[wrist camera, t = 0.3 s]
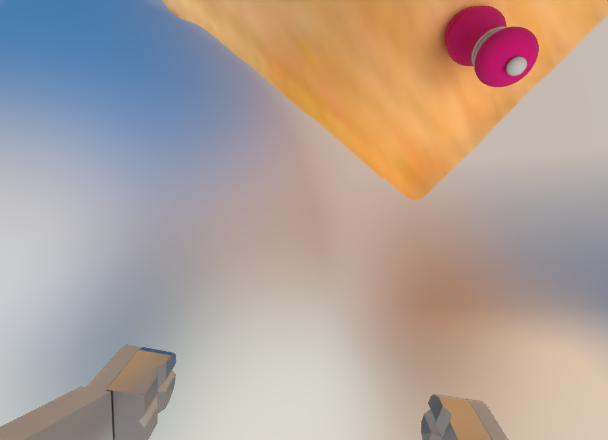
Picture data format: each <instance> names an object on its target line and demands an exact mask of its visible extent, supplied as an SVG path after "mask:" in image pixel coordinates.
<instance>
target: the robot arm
mask: <svg viewBox="0 0 608 440" xmlns="http://www.w3.org/2000/svg"><path fill="white" fill-rule="evenodd" d="M175 364H176V354H175V353H172V352H167V351H161V350H156V349H150V348H145V347H137V346H132V345H125V346H124V347H122V348H121V349H120V350H119V351H118V352H117V353H116V354H115V356H114V357H113V358H112V359H111V360H110V361H109V362H108V363H107V365H106V366H105V367H104V368H103V369H102V370H101V371H100V372H99V373H98V374H97V376H96V377H95V378H94V379H93V380H92V381H91V382H90V384H89V385H88V386H87V387H79V388H77V389H75V390H73V391H71V392H69V393H67V394H65V395H63V396H61V397H59V398H57V399H55V400H53V401H51V402H49V403H47V404H45V405H43V406H41V407H39V408H37V409H35V410H33V411H31V412H29V413H27V414H25V415H23V416H21V417H19V418H17V419H15V420H13V421H11V422H9V423H7V424H5V425H3V426H1V427H0V440H148V439H149V437H150V435H151V433H152V431H153V430H154V428H155V426H156V424H157V415H158V413H159V412H160V411H162V410H163V409H165V408H166V406H167V404H168V402H169V400H170V397H171V394H172V392H173V389H174V384H175V373H174V372H173V370H172V369H173V367H174V365H175ZM428 404H429V406H430V410H429V411H428V412H426V413H425V414H424V416H423V419H422V422H421V423H422V424H421V433H422V439H423V440H508V439H507V437H506V435H505V434H504V432H503V431H502V429H501V427H500V426H499V424H498V423H497V421H496V419H495V418H494V416H493V415H492V413H491V412H490V410H489V409H488V407H487V405H486V404H485V403H484V402H482V401H478V400H471V399H463V398H457V397H451V396H443V395H437V394H433V395H432V396H431V397H430V400H429V402H428Z"/></svg>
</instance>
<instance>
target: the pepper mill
mask: <svg viewBox="0 0 608 440" xmlns="http://www.w3.org/2000/svg"><path fill="white" fill-rule="evenodd" d="M445 43H446V46H447V49H448V52H449V55H450V57H451V58H452V59H453V60H454V61H455V62H457V63H458V64H460V65H464V66H474V67H475V72H476V75H477V77H478V78H479V80H480V81H481V82H482V83H484V84H486V85H488V86H492V87H504V86H508V85H511V84H513V83H516V82H517V81H519V80H520V79H522V78H523V77H524V76H525V75H526V74H527V73H528V72H529V71H530V70H531V69H532V67H533V65H534V64H535V62H536V59H537V56H538V51H539V45H538V42H537V39H536V37H535V35H534V34H533V33H532V32H531V31H529V30H528V29H525V28H522V27H506V21H505V18H504V16H503V15H502V14H501V12H499V11H498V10H497V9H495V8H493V7H490V6H479V7H476V6H474V7H469V8H466V9H464V10H462V11H460V12H459V13H458V14H456V15H455V16H454V18H453V19H452V20H451V21H450V23H449V25H448V27H447V30H446V33H445Z"/></svg>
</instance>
